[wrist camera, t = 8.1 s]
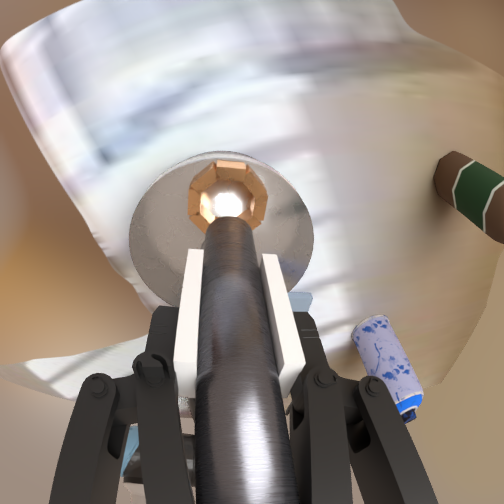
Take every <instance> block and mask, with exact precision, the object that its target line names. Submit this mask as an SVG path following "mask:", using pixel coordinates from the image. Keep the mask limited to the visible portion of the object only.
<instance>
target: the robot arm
mask: <svg viewBox="0 0 504 504" xmlns="http://www.w3.org/2000/svg"><path fill="white" fill-rule="evenodd" d="M203 256H204V250H201V249H189V250H188V256H187V262H186V268H185V274H184V281H183V288H182V294H181V302H180V307H168V306H159V307H158V308H157V309H156V310H155V312H154V313H153V315H152V319H151V325H150V329H149V334H148V338H147V344H146V349H145V352H143V353H141V354H140V355H138V356H137V357H136V358H135V360H134V361H133V365H132V368H133V371H134V374H132V375H131V376H127V377H122V378H115V379H112V378H111V377H110V376H108V375H106V374H103V373H95V374H92V375H90V376H89V377H87V378H86V379H85V381H84V382H83V384H82V387H81V389H80V392H79V395H78V398H77V401H76V403H75V406H74V410H73V412H72V415H71V418H70V422H69V425H68V428H67V431H66V435H65V439H64V441H63V445H62V449H61V452H60V456H59V460H58V464H57V468H56V472H55V476H54V481H53V485H52V490H51V495H50V500H49V504H116V497H117V491H118V484H119V479H120V476H121V477H124V482H123V484H124V486H125V487H126V488H127V489H128V490H129V492H130V493H131V504H195V501H194V496H193V492H192V487H195V435H191V434H184V433H182V429H181V422H180V414H179V407H178V396H179V397H187V398H188V405H189V409H190V411H191V414H192V417H193V420H194V423H195V383H196V378H197V356H198V334H199V315H200V299H201V285H202V272H203ZM259 270H260V276H261V281H262V287H263V293H264V298H265V304H266V309H267V315H268V320H269V326H270V332H271V337H272V343H273V349H274V354H275V360H276V366H277V371H278V377H279V383H280V388H281V394H282V398H287V397H288V395H289V393H290V392H291V397H292V402H291V403H290V405H289V407H288V408H287V410H286V413H285V415H288V414H289V412H290V446H291V451H292V457H293V463H294V469H295V475H296V481H297V486H298V492H299V498H300V504H353V500H352V483H351V471H350V464H351V466H352V469H353V472H354V475H355V478H356V480H357V483H358V486H359V489H360V492H361V495H362V498H363V500H364V503H365V504H438V501H437V499H436V496H435V493H434V491H433V488H432V486H431V483H430V481H429V478H428V476H427V473H426V471H425V469H424V466H423V464H422V461H421V459H420V457H419V455H418V452H417V450H416V447H415V445H414V443H413V441H412V439H411V436H410V434H409V432H408V430H407V428H406V425H405V423H404V421H403V419H402V417H401V415H400V413H399V410H398V408H397V406H396V404H395V402H394V400H393V398H392V396H391V394H390V392H389V390H388V388H387V386H386V384H385V383H384V382H383V380H381V379H380V378H379V377H376V376H373V375H372V376H366V377H364V378H362V379H361V381H356V380H350V379H345V378H342V377H340V376H338V375H337V373H336V372H335V371H334V370H332V369H330V367H329V365H328V362H327V359H326V356H325V353H324V350H323V346H322V343H321V340H320V338H319V334H318V331H317V328H316V325H315V322H314V319H313V318H312V317H311V316H310V315H309V313H308V312H293V311H292V309H291V305H290V301H289V297H288V294H287V290H286V286H285V283H284V279H283V276H282V272H281V268H280V265H279V261H278V258H277V255H276V254H262V257H261V262H260V267H259ZM134 423H138V426H131V427H130V425H131V424H134ZM191 486H192V487H191Z"/></svg>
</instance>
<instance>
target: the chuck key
mask: <svg viewBox="0 0 504 504" xmlns="http://www.w3.org/2000/svg"><path fill="white" fill-rule="evenodd" d="M195 488H196V504H300V498H299V492H298V486H297V481H296V475H295V469H294V463H293V457H292V451H291V446H290V440H289V434H288V429H287V423H286V417H285V411H284V405H283V400H282V394H281V388H280V383H279V377H278V371H277V366H276V360H275V354H274V349H273V343H272V337H271V332H270V326H269V320H268V315H267V309H266V304H265V298H264V293H263V287H262V281H261V276H260V270H259V265H258V259H257V254H256V248H255V243H254V237H253V232H252V229H251V227H250V225H249V224H248V223H247V222H246V221H245V220H243V219H241V218H239V217H236V216H223V217H220V218H217V219H216V220H214V221H213V222H212V223H211V224H210V225H209V226H208V228H207V230H206V233H205V242H204V256H203V272H202V285H201V299H200V315H199V334H198V356H197V378H196V383H195Z"/></svg>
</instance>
